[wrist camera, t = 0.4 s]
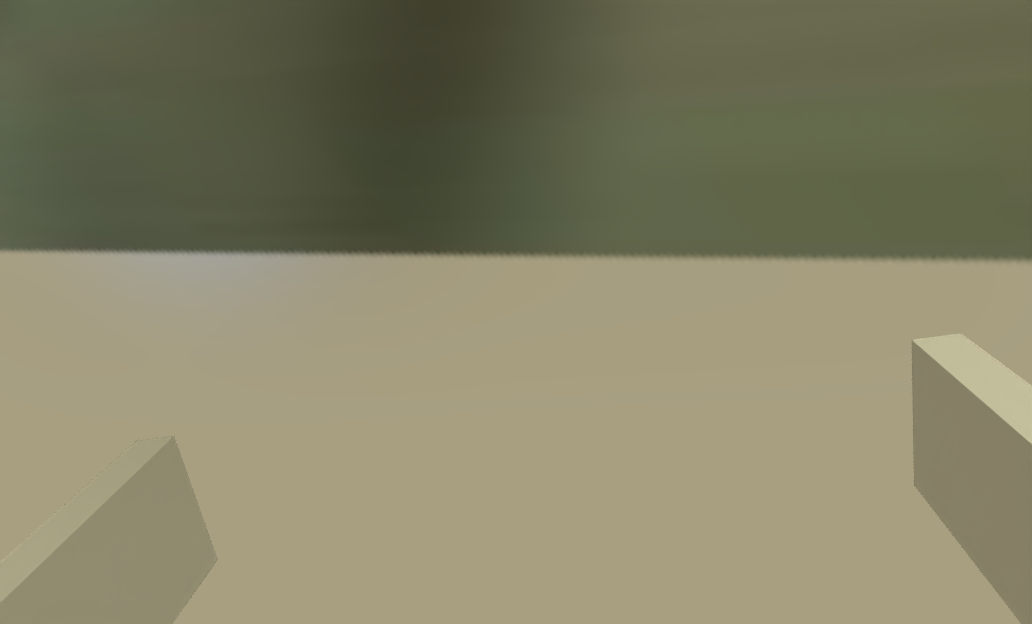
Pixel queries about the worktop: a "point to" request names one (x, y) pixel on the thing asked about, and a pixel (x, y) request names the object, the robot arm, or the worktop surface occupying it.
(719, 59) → the worktop surface
